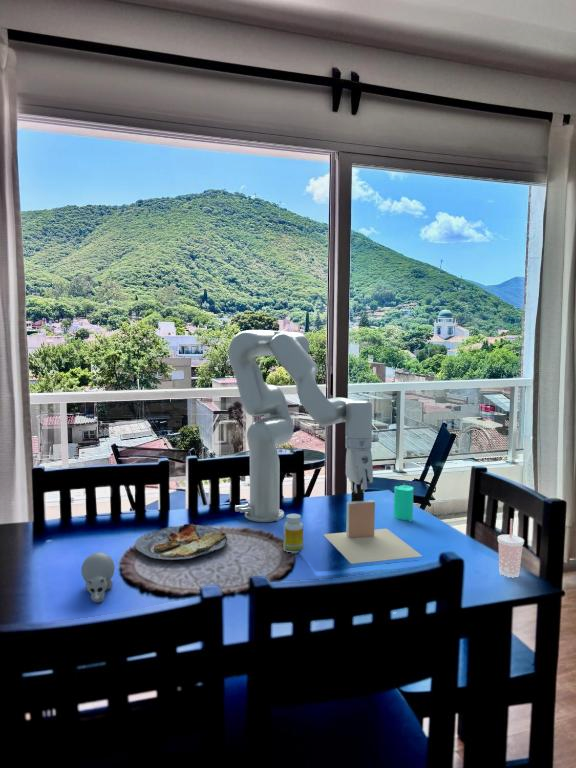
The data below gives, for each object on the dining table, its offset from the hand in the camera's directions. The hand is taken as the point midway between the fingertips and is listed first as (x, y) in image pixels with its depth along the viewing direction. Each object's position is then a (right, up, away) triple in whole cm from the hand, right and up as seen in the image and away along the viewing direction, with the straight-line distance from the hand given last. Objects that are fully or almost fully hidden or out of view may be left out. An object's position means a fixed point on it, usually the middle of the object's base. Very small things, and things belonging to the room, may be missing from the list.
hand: (357, 505), depth 168 cm
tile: (+1, -9, -2) cm, 9 cm away
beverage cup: (+35, -12, -25) cm, 44 cm away
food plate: (-49, -10, -9) cm, 51 cm away
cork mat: (+3, -10, -9) cm, 14 cm away
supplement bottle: (-19, -10, -10) cm, 24 cm away
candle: (+16, -8, +16) cm, 24 cm away
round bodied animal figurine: (-63, -12, -37) cm, 75 cm away
